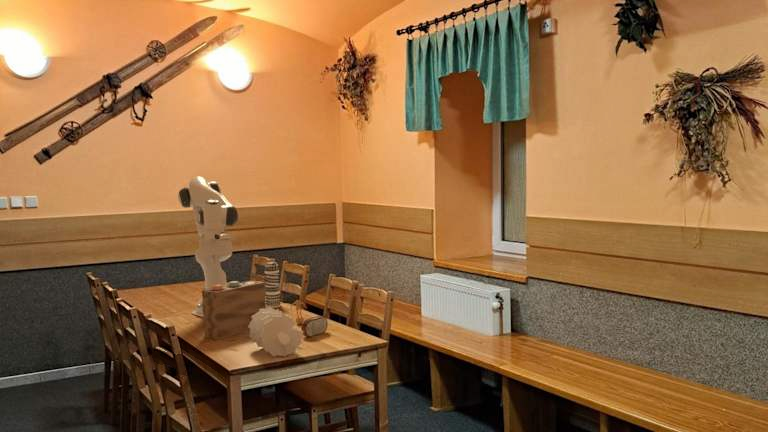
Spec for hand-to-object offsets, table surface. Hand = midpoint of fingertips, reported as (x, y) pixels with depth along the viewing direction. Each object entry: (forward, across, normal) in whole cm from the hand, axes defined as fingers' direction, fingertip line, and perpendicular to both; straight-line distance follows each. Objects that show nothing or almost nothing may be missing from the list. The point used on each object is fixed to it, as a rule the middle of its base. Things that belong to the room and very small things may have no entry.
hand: (216, 264), depth 321 cm
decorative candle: (+34, -28, +61) cm, 75 cm away
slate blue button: (+13, 0, +10) cm, 16 cm away
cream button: (+15, 0, +20) cm, 25 cm away
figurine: (+34, +16, +37) cm, 53 cm away
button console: (+34, 0, +10) cm, 36 cm away
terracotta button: (+13, 0, 0) cm, 13 cm away
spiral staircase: (+35, +44, -6) cm, 56 cm away
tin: (+35, +39, +24) cm, 57 cm away
